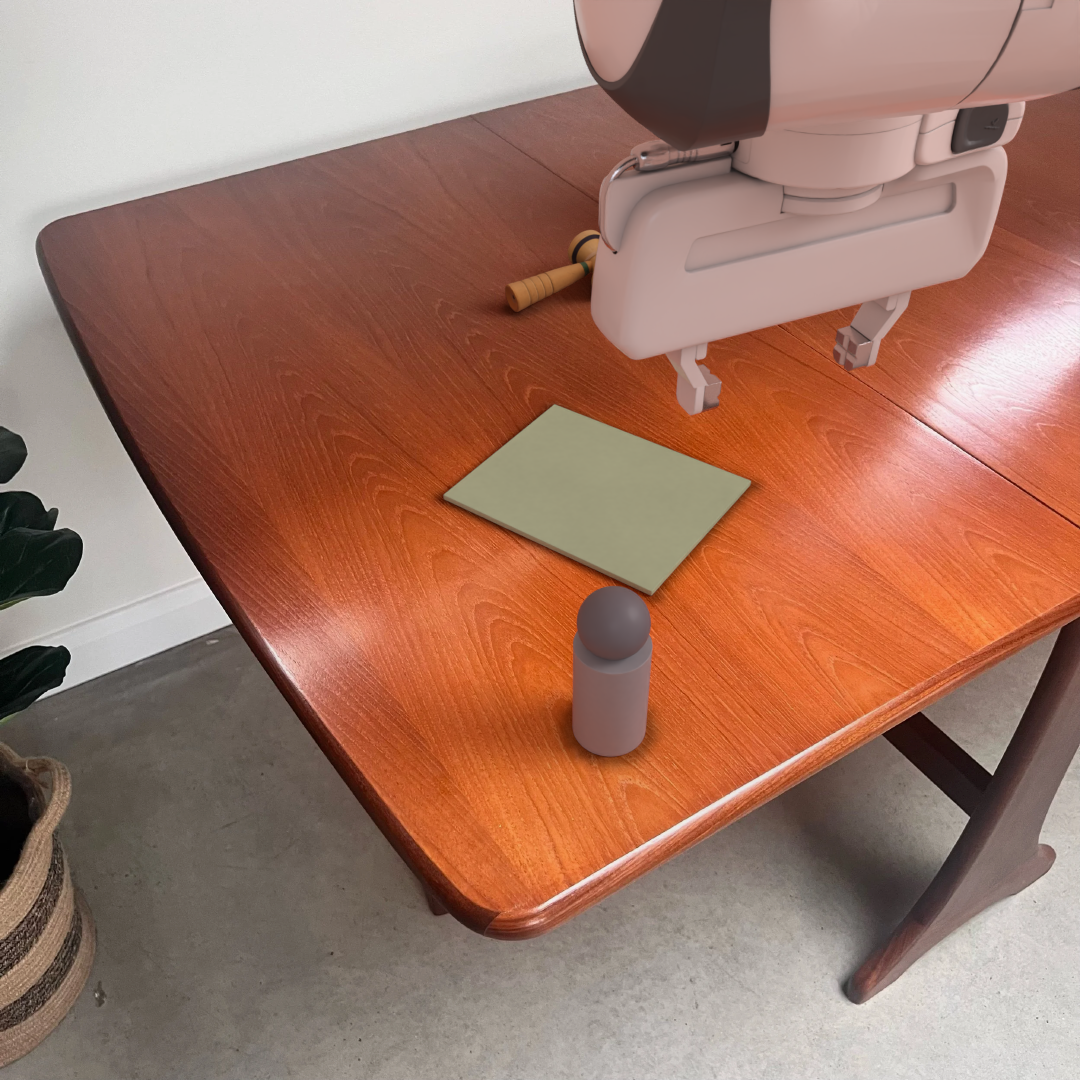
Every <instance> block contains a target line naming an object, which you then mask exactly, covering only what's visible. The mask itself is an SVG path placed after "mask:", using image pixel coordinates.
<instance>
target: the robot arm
mask: <svg viewBox="0 0 1080 1080" xmlns="http://www.w3.org/2000/svg"><path fill="white" fill-rule="evenodd" d="M572 7H573V14H574V22H575V29H576V34H577V38H578V43H579V46H580V51H581V53H582V57H583V59H584V62H585V65H586V67H587V70H588V71H589V73H590V75H591V77H592V78H593V80H594V81H595V82H596V83H597V85H598V86H599V87H600V88H601V89H602V90H603V92H605V94H607V96H608V97H609V98H610V99H611V100H612V101H613V102H615V104H617V106H619V107H620V109H622V110H623V111H624V112H625V113H626V114H627V115H629V117H631V118H632V119H633V120H634V121H635V122H637V123H638V124H640V125H641V126H642V127H643V128H645V129H646V130H647V131H648V132H650V133H651V134H653V135H654V136H655V137H657V138H658V139H655V140H648V141H645V142H642V143H640V144H637V145H635V146H633V147H632V149H631V150H630V155H628V156H627V157H625V158H623V159H622V160H620V161H619V162H618V163H617V164H615V166H613V168H612V169H611V170H610V171H609V173H608V174H607V175H606V176H605V177H604V178H603V179H602V181H601V185H600V189H599V194H598V228H599V233H600V238H599V243H598V248H597V254H596V261H595V267H594V275H593V274H592V276H593V284H591V296H590V314H591V318H592V320H593V323H594V325H595V326H596V327H597V329H598V330H599V331H600V332H601V334H602V335H603V336H604V337H605V338H606V339H607V340H608V342H610V343H611V344H612V345H613V346H614V347H615V348H616V349H618V350H619V351H620V352H621V353H622V354H624V356H626V357H627V358H629V359H631V360H635V361H640V360H645V359H650V358H653V357H657V356H660V355H664V354H665V356H666V357H667V359H668V360H669V363H670V364H671V365H672V367H673V368H674V370H675V372H676V373H677V380H676V391H675V392H676V393H675V396H676V400H677V402H678V405H679V406H680V407H681V408H682V409H683V410H684V411H685V412H686V413H687V414H688V415H689V416H693V415H698V414H702V413H706V412H709V411H713V410H716V409H718V407H719V406H720V399H719V398H718V397H719V396H720V394H721V391H722V383H723V382H722V380H720V378H718V376H716V375H715V374H712V373H711V370H710V369H709V368H708V367H707V366H706V365H705V364H699V365H698V364H697V363H696V361H699V360H704V359H705V358H706V357H707V353H708V344H709V343H712V342H716V341H719V340H725V339H728V338H731V337H735V336H739V335H744V334H746V333H751V332H754V331H755V332H756V331H758V330H763V329H766V328H770V327H775V326H778V325H781V324H786V323H790V322H795V321H798V320H802V319H806V318H809V317H810V318H811V317H813V316H818V315H823V314H825V313H829V312H833V311H837V310H841V309H844V308H849V307H853V306H857V305H860V304H861V305H860V307H859V309H858V310H857V312H856V314H855V316H854V317H853V319H852V321H851V322H850V323H849V325H847V326H845V327H840V328H837V330H836V333H835V339H834V340H835V342H836V344H835V345H834V347H833V350H832V355H833V357H832V358H833V359H834V361H835V362H836V364H838V365H840V366H843V370H845V371H846V372H851V371H856V370H860V369H863V368H868V367H872V366H874V365H875V364H876V362H877V359H878V355H879V354H878V353H879V350H880V345H881V341H882V339H884V338H885V337H886V335H888V333H889V331H890V330H891V329H892V328H893V326H894V325H895V324H896V323H897V321H898V320H899V319H900V317H901V316H902V314H903V313H904V312H905V311H906V310H907V308H908V307H909V303H910V300H911V299H910V298H911V295H912V291H915V290H920V289H924V288H928V287H932V286H936V285H939V284H945V283H948V282H951V281H956V280H959V279H962V278H964V277H966V276H967V275H968V274H969V272H970V271H971V270H972V269H973V268H974V267H975V266H976V264H977V263H978V262H979V261H980V260H981V259H982V258H983V256H984V254H985V252H986V250H987V248H988V245H989V242H990V239H991V236H992V234H993V230H994V227H995V223H996V220H997V218H998V213H999V209H1000V205H1001V201H1002V198H1003V194H1004V189H1005V185H1006V182H1007V181H1006V180H1007V174H1008V168H1009V167H1008V166H1009V165H1008V161H1009V160H1008V155H1007V153H1006V150H1005V149H1004V147H1003V146H1005V145H1006V144H1009V143H1010V142H1011V141H1013V140H1014V138H1015V137H1016V135H1017V134H1018V131H1019V130H1020V127H1021V124H1022V121H1023V118H1024V115H1025V111H1026V102H1029V101H1035V100H1040V99H1044V98H1048V97H1051V96H1055V95H1058V94H1062V93H1065V92H1070V91H1077V90H1080V0H572ZM631 167H633V169H630V168H631ZM628 169H629V170H628Z"/></svg>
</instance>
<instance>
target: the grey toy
mask: <svg viewBox="0 0 1080 1080" xmlns="http://www.w3.org/2000/svg"><path fill="white" fill-rule="evenodd" d="M576 616H577V617H576V632H575V634H574V637H573V639H572V640H573V641H572V642H573V643H572V733H573V736H574V738H575V740H576V741H577V742H578V744H579V745H580V746H581V747H582V748H584V749H585V750H587V751H588V752H590V753H592V754H594V755H597V756H601V757H620V756H624V755H627V754H628V753H631V752H632V751H634V750H636V749H637V748H638V747H639V746H640V745H641V743H642V742H643V740H644V739H645V737H646V732H647V721H648V708H649V707H648V706H649V697H650V696H649V695H650V683H651V670H652V659H653V648H654V647H653V640H652V637H651V635H650V634H651V627H652V619H651V618H652V617H651V614H650V610H649V609H648V606H647V604H646V602H645V601H644V600H643V598H642V597H641V596H640V595H639V594H637V593H636V592H634V591H633V590H631V589H630V588H627V587H624V586H620V585H608V586H604V587H603V586H602V587H600V588H598V589H596V590H594V591H593V592H591V593H590V594H589V595H587V596H586V597H585V599H584V600H583V601H582V603H581V605H580V607H579V609H578V611H577V615H576Z"/></svg>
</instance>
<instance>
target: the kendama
mask: <svg viewBox="0 0 1080 1080" xmlns="http://www.w3.org/2000/svg"><path fill="white" fill-rule="evenodd" d="M599 238H600V231H599V232H598V231H597V230H594V229H587V230H584V231H581V232H580V233H578V234H576V236H574V237H573V239H572V240H571V242H570V244H569V245H568V249H567V258H568V261H569V262H570V263H571V264H568V265H565V266H561V267H557V268H554V269H551V270H548V271H544V272H542V273H539V274H536V275H533V276H531V277H527V278H524V279H520V280H518V281H514V282H511V283H508V284H506V285H505V286H504V294H505V298H506V299H505V300H506V302H507V303H508V305H509V307H510V308H511V310H512V311H513V312H515V313H518V312H521V311H522V310H525V309H526V308H528V307H530V306H531V305H534V304H536V303H538V302H540V301H542V300H544V299H545V298H548V297H551V296H552V295H554V294H556V293H558V292H561V291H563V290H565V289H566V288H568V287H570V286H571V285H573V284H575V283H576V282H578V281H580V280H582V279H584V278H585V277H586V276H589V275H590V274H592V276H591V285H592V284H593V275H594V267H595V261H596V254H597V248H598V243H599Z"/></svg>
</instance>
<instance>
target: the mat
mask: <svg viewBox="0 0 1080 1080" xmlns="http://www.w3.org/2000/svg"><path fill="white" fill-rule="evenodd" d="M751 484H752V480H750V479H748V478H745V477H742V476H740V475H738V474H735V473H732V472H729V471H727V470H724V469H722V468H719V467H717V466H715V465H712V464H709V463H707V462H705V461H702V460H699V459H696V458H693V457H691V456H689V455H686V454H684V453H681V452H678V451H676V450H673V449H671V448H668V447H666V446H664V445H661V444H658V443H655V442H653V441H651V440H650V441H649V440H648V439H645V438H642V437H640V436H637V435H635V434H632V433H630V432H627V431H625V430H621V429H619V428H617V427H613V426H611V425H609V424H606V423H604V422H601V421H599V420H596V419H594V418H591V417H589V416H586V415H583V414H580V413H578V412H575V411H573V410H571V409H568V408H566V407H563V406H560V405H557V404H556V403H555V404H553V405H551V406H550V407H549V408H548V409H547V410H546V411H544V412H543V413H542V414H540V415H539V416H538V417H537V418H536V419H534V420H533V421H531V422H530V423H529V425H527V426H526V427H525V428H523V429H522V430H521V431H520V432H518V433H517V434H516V435H515V436H514V437H512V438H511V439H510V440H509V441H507V442H506V443H505V444H504V445H502V446H501V447H500V448H499V449H498V450H496V451H495V452H494V453H493V454H492V455H490V456H489V457H487V459H485V460H484V461H483V462H482V463H480V464H479V465H478V466H476V468H474V469H473V470H472V471H471V472H469V473H468V474H467V475H466V476H464V477H463V478H462V479H461V480H460V481H458V482H457V483H456V484H455V485H454V486H452V487H451V488H450V489H448V490H447V491H446V492H445V493H444V494H443V500H445V501H446V502H449V503H451V504H453V505H455V506H458V507H459V508H462V509H463V510H466V511H468V512H470V513H472V514H475V515H476V516H479V517H481V518H482V519H486V520H487V521H490V522H492V523H494V524H496V525H498V526H501V527H502V528H505V529H507V530H509V531H511V532H513V533H515V534H517V535H520V536H522V537H524V538H526V539H528V540H531V541H533V542H535V543H537V544H539V545H542V546H543V547H545V548H547V549H549V550H552V551H554V552H555V553H558V554H560V555H562V556H565V557H567V558H569V559H571V560H573V561H576V562H577V563H580V564H581V565H584V566H586V567H588V568H590V569H593V570H594V571H597V572H599V573H600V574H604V576H605V575H606V576H607V577H610V578H611V579H614V580H616V581H618V582H621V584H625V585H627V586H629V587H631V588H633V589H636V590H638V591H639V592H642V593H644V594H646V595H648V596H653V595H654V594H655V592H657V591H658V590H659V588H660V587H661V586H662V585H663V584H664V582H666V580H667V579H668V578H669V577H670V576H671V575H672V573H673V572H674V571H675V570H676V569H677V568H678V567H679V566H680V564H682V562H684V560H685V559H686V558H687V557H688V556H689V555H690V553H692V551H693V550H694V549H695V548H696V547H697V546H698V544H700V542H701V541H702V540H703V539H704V538H705V537H706V536H707V535H708V533H709V532H710V531H711V530H712V529H713V528H714V527H715V526H716V525H717V523H718V522H719V521H720V520H721V519H722V518H723V517H724V515H726V513H727V512H728V511H729V510H730V509H731V508H732V506H734V504H735V503H736V502H737V501H738V500H739V499H740V497H742V496H743V494H744V493H745V492H746V491H747V490H748V488H750V486H751Z"/></svg>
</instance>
